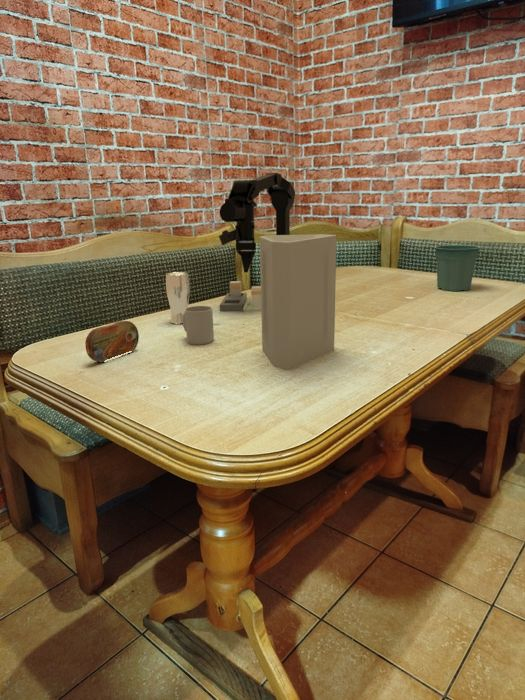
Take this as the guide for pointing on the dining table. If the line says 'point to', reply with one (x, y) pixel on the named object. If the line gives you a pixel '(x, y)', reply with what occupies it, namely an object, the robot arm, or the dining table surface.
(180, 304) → the beer glass
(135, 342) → the tin
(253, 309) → the tray
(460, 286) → the flower pot
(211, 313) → the cup
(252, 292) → the plug
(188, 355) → the dining table surface
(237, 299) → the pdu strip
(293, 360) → the taupe rounded pillar
